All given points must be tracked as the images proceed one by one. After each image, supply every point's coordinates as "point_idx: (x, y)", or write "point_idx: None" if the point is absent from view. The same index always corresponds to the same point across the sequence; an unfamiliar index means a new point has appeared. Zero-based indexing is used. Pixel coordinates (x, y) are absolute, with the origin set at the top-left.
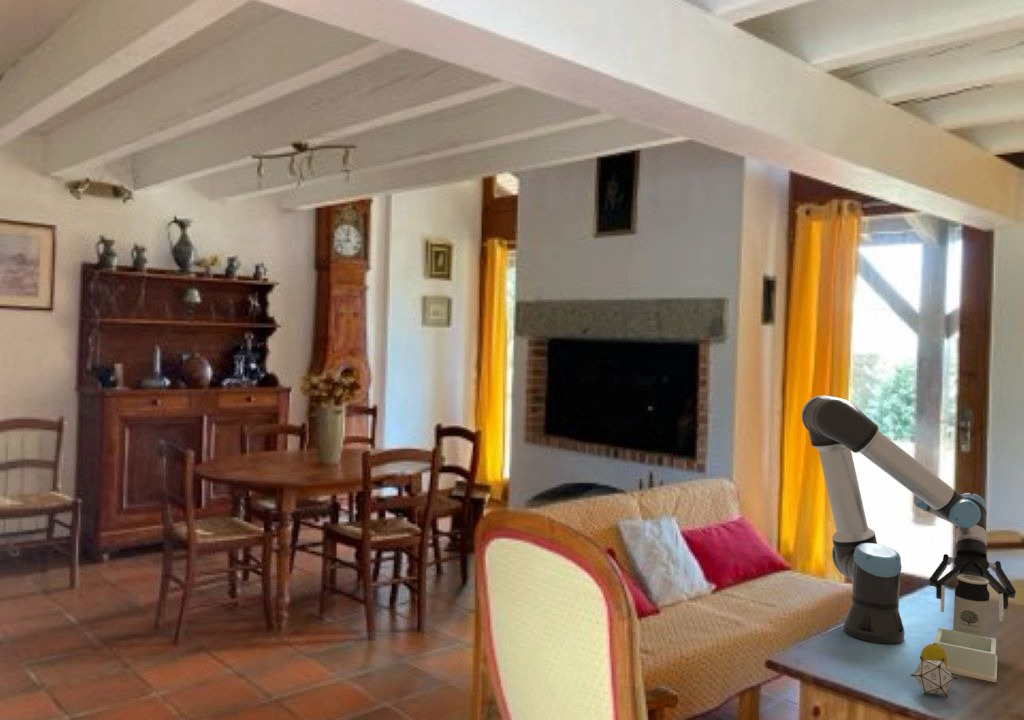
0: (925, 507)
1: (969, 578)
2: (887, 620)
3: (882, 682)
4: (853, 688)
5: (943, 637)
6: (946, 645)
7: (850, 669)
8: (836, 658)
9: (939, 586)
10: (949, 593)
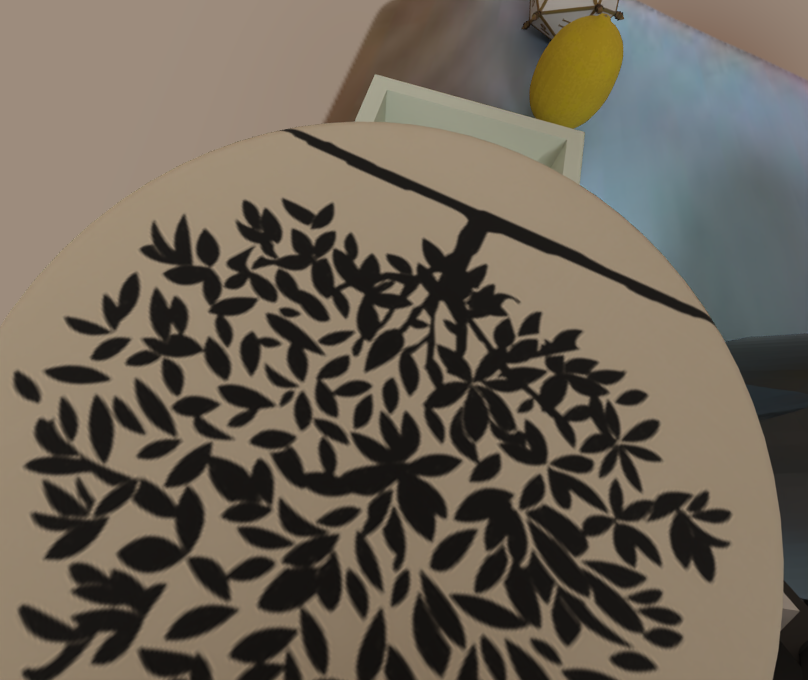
0: None
1: (490, 375)
2: (803, 338)
3: (661, 72)
4: (711, 36)
5: None
6: (541, 123)
7: (744, 122)
8: (797, 181)
9: (794, 625)
10: None
